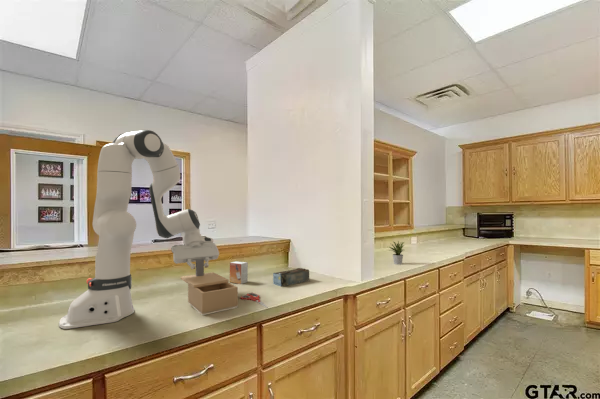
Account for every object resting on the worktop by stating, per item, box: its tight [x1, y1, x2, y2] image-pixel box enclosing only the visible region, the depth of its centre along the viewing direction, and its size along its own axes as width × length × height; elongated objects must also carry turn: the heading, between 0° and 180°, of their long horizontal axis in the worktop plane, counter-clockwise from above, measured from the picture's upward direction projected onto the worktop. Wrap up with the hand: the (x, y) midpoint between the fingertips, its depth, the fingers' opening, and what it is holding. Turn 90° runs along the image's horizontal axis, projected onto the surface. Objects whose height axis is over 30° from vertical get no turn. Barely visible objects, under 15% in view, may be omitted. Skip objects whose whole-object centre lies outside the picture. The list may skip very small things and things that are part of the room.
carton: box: [187, 282, 239, 316], centre depth 120 cm, size 14×18×8 cm
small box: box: [228, 260, 249, 285], centre depth 157 cm, size 8×6×10 cm
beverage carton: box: [272, 267, 310, 287], centre depth 156 cm, size 8×19×7 cm, turn 128°
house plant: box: [388, 240, 405, 265], centre depth 208 cm, size 14×14×16 cm
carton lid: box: [180, 259, 230, 288], centre depth 128 cm, size 15×19×8 cm
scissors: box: [240, 292, 269, 309], centre depth 125 cm, size 8×21×2 cm, turn 45°
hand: (200, 267), depth 133 cm, fingers open, 5 cm apart
